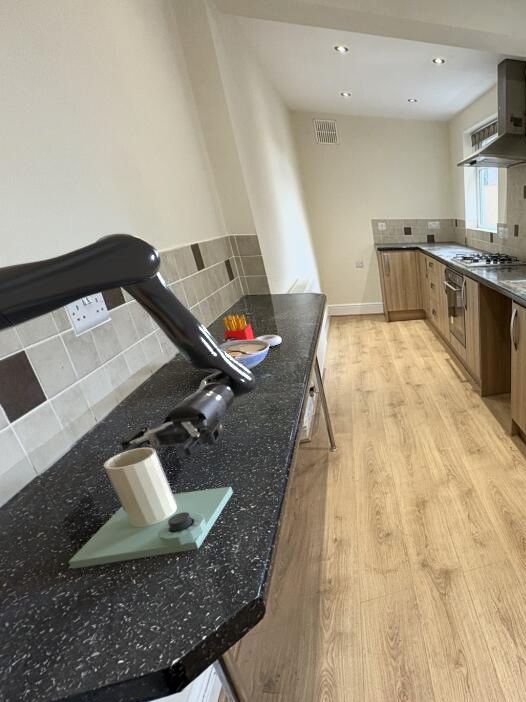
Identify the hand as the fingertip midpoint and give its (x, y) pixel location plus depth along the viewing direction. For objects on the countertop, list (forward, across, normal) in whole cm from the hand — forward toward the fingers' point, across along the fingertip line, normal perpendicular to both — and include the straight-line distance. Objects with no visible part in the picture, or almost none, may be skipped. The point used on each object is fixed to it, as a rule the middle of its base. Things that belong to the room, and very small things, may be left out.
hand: (153, 457), depth 69 cm
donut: (-98, -12, +10) cm, 100 cm away
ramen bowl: (-70, -14, +10) cm, 72 cm away
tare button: (+11, +7, +7) cm, 15 cm away
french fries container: (-88, -17, +10) cm, 91 cm away
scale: (+6, +2, +9) cm, 12 cm away
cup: (+5, 0, +8) cm, 9 cm away
